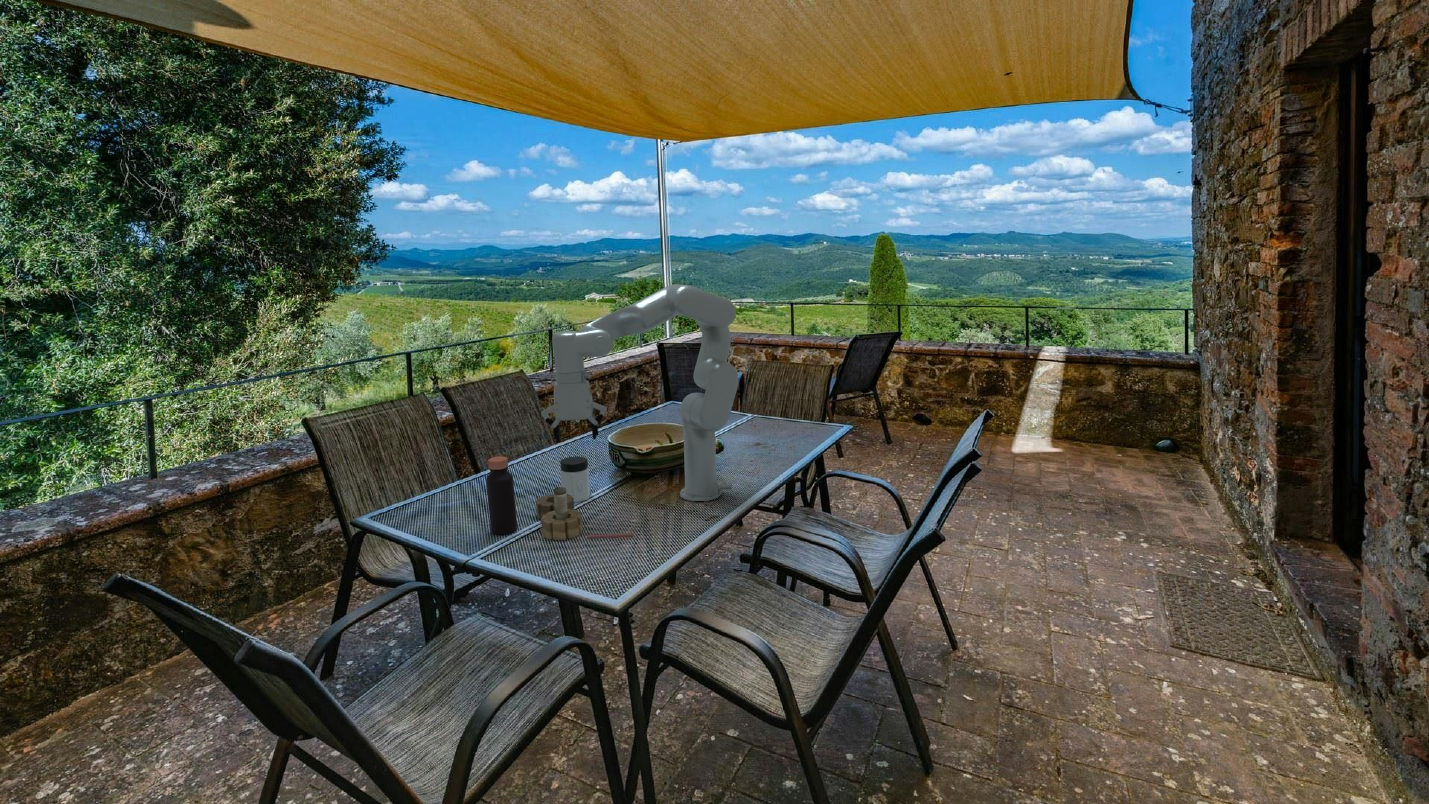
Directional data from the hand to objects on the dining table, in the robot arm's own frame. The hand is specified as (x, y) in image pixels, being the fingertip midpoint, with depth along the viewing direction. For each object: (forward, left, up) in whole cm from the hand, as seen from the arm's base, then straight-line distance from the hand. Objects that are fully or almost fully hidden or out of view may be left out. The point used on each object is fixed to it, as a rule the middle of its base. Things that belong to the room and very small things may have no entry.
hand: (576, 439), depth 177 cm
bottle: (+20, +6, -23) cm, 31 cm away
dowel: (+4, +8, -23) cm, 25 cm away
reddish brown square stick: (-9, +13, -23) cm, 28 cm away
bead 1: (+8, -4, -23) cm, 25 cm away
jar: (+4, -18, -23) cm, 29 cm away
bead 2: (+4, +8, -23) cm, 25 cm away
